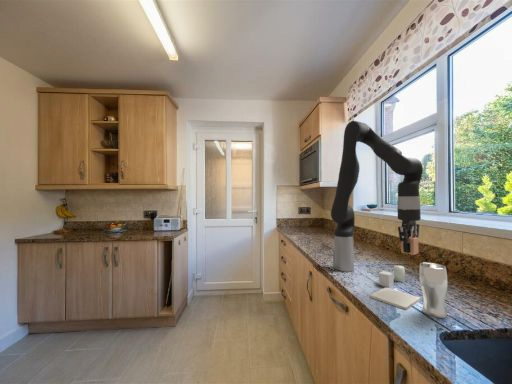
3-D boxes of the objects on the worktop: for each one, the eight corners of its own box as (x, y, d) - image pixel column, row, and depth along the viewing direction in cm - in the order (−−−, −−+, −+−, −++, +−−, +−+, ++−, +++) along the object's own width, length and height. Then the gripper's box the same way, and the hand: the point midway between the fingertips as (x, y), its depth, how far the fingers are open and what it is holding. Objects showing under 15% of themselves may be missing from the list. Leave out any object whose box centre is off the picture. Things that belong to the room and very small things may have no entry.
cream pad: (370, 297, 83) (369, 295, 83) (385, 289, 90) (385, 287, 90) (406, 310, 73) (406, 307, 73) (420, 299, 80) (420, 297, 80)
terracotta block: (401, 252, 89) (400, 237, 89) (405, 250, 91) (405, 236, 91) (413, 254, 85) (413, 239, 85) (418, 253, 88) (418, 237, 88)
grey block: (379, 284, 95) (378, 272, 95) (383, 282, 97) (383, 270, 97) (389, 287, 92) (388, 275, 92) (393, 285, 94) (393, 273, 94)
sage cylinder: (392, 280, 100) (392, 266, 100) (396, 278, 102) (396, 264, 102) (402, 282, 97) (402, 268, 97) (406, 280, 99) (406, 266, 99)
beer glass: (415, 308, 74) (413, 262, 75) (435, 307, 75) (433, 262, 75) (433, 319, 67) (431, 269, 68) (455, 318, 68) (452, 268, 68)
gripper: (405, 207, 96) (406, 247, 95) (389, 208, 88) (390, 252, 87) (426, 207, 90) (427, 250, 89) (411, 209, 81) (413, 256, 81)
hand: (409, 251), depth 88 cm, fingers closed on terracotta block, 4 cm apart
